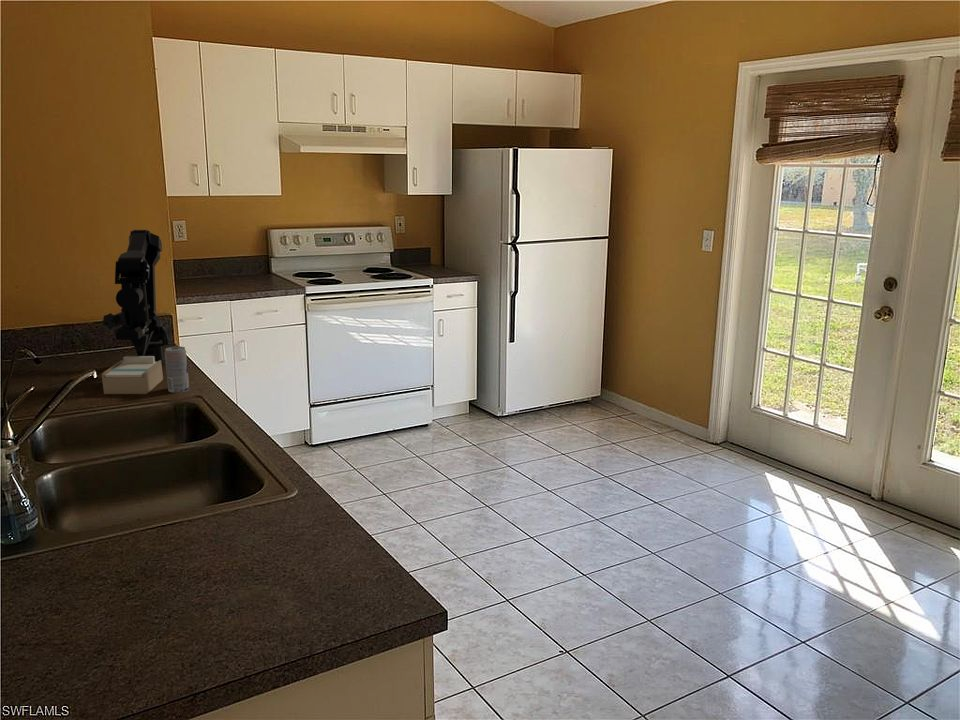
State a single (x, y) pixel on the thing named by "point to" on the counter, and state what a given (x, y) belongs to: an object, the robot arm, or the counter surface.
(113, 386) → the mailer box
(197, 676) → the counter surface
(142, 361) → the lid
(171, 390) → the energy drink
